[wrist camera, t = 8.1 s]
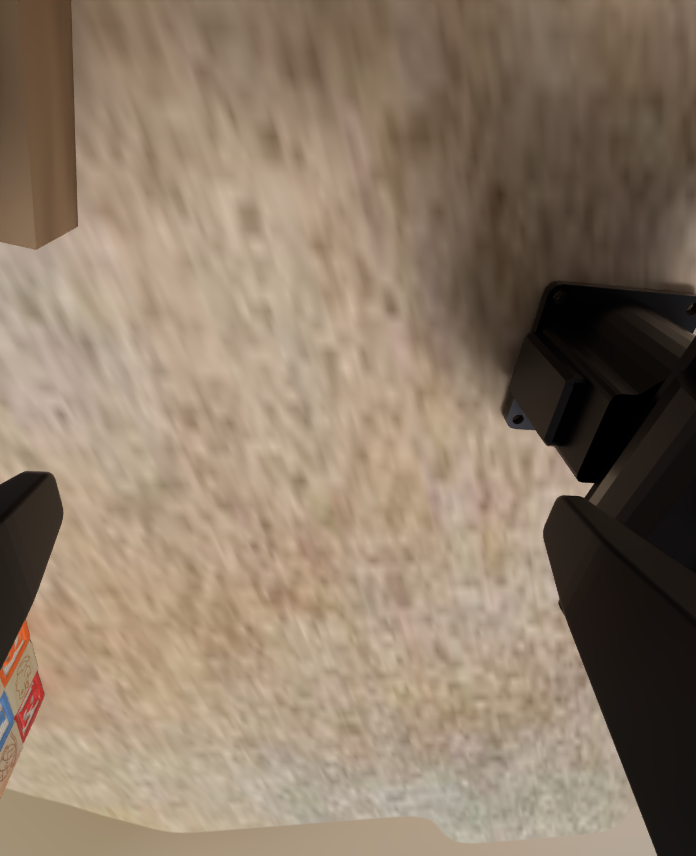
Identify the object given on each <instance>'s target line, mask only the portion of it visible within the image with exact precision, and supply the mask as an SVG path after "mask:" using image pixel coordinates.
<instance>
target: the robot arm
mask: <svg viewBox="0 0 696 856" xmlns="http://www.w3.org/2000/svg"><path fill="white" fill-rule="evenodd" d="M558 291H562V295H561V297H560V298H559V299H557V300H553V297H554V295H555V293H557V292H558ZM692 303H693V306H692V308H691V309H690V310H688V311H686V310H687V308H688V306H689V305H691V304H692ZM695 328H696V294H693V293H684V292H673V291H663V290H652V289H641V288H630V287H619V286H609V285H598V284H587V283H576V282H565V281H555V282H553V283H551V284H549V285H548V286H547V287H546V289H545V291H544V292H543V295H542V299H541V302H540V305H539V308H538V311H537V314H536V317H535V320H534V323H533V327H532V330H531V332H530V333H529V334H528V335H526V336H525V338H524V341H523V344H522V347H521V351H520V354H519V357H518V360H517V363H516V366H515V370H514V373H513V376H512V379H511V382H510V385H509V391H510V392H511V395H510V398H509V401H508V404H507V408H506V411H505V414H504V419H505V421H506V423H507V424H508V426H509V427H511V428H513V429H525V430H536V431H537V433H538V434H539V436H540V437H541V439H542V440H543V442H544V443H545V444H546V445H547V446H554V447H555V448H556V450H557V451H558V452H559V454H560V455H561V457H562V458H563V460H564V461H565V463H566V464H567V465H568V467H569V468H570V470H571V471H572V473H573V474H574V476H575V477H576V478H577V480H578V481H579V482H583V483H594V485H593V486H592V488H591V489H590V491H589V492H588V494H587V495H586V496H585V498H583V497H580V496H566V495H563V496H559V497H558V498H557V499H556V501H555V503H554V505H553V507H552V510H551V512H550V514H549V517H548V519H547V521H546V523H545V526H544V530H543V538H544V543H545V546H546V550H547V554H548V557H549V561H550V565H551V569H552V572H553V576H554V580H555V584H556V587H557V591H558V595H559V598H560V599H559V602H558V604H559V607H560V609H561V611H562V613H563V614H564V616H565V618H566V620H567V623H568V626H569V628H570V631H571V634H572V636H573V639H574V641H575V644H576V646H577V649H578V652H579V654H580V657H581V659H582V662H583V665H584V667H585V670H586V672H587V675H588V677H589V680H590V683H591V685H592V688H593V690H594V693H595V696H596V698H597V701H598V703H599V706H600V709H601V711H602V714H603V716H604V719H605V721H606V724H607V727H608V729H609V732H610V734H611V737H612V740H613V742H614V745H615V747H616V750H617V752H618V755H619V758H620V760H621V763H622V765H623V768H624V771H625V773H626V776H627V778H628V781H629V783H630V786H631V789H632V791H633V794H634V796H635V799H636V802H637V804H638V807H639V809H640V812H641V814H642V817H643V819H644V822H645V825H646V827H647V830H648V833H649V835H650V837H651V840H652V843H653V845H654V848H655V851H656V853H657V856H696V336H695V335H694V334H693V332H694V330H695ZM519 414H520V417H519V418H517V419H513V418H514V416H516V415H519ZM62 520H63V506H62V502H61V498H60V495H59V491H58V487H57V483H56V480H55V477H54V476H53V474H51V473H49V472H41V471H25V472H22V473H20V474H18V475H16V476H15V477H13V478H11V479H9V480H7V481H6V482H4V483H2V484H0V670H1V668H2V666H3V664H4V662H5V660H6V658H7V656H8V654H9V652H10V650H11V648H12V646H13V644H14V642H15V640H16V638H17V636H18V634H19V632H20V629H21V627H22V625H23V623H24V621H25V619H26V617H27V615H28V613H29V611H30V608H31V606H32V604H33V602H34V599H35V597H36V594H37V592H38V589H39V586H40V583H41V580H42V578H43V575H44V572H45V569H46V566H47V563H48V561H49V558H50V555H51V552H52V549H53V546H54V543H55V541H56V538H57V535H58V532H59V529H60V526H61V524H62Z"/></svg>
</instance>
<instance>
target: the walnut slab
mask: <svg viewBox="0 0 696 856" xmlns="http://www.w3.org/2000/svg"><path fill="white" fill-rule="evenodd" d="M76 227H78V212H77V180H76V148H75V116H74V84H73V52H72V20H71V0H0V242H4V243H8V244H13V245H17V246H22V247H26V248H31V249H35V250H37V249H38V248H40V247H42V246H44V245H46V244H47V243H49V242H51V241H53V240H55V239H56V238H58V237H60V236H62V235H64V234H65V233H67V232H69V231H71V230H73V229H74V228H76Z"/></svg>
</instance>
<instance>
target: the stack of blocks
mask: <svg viewBox="0 0 696 856" xmlns="http://www.w3.org/2000/svg"><path fill="white" fill-rule="evenodd" d="M29 639H30V636H29V631H28V627H27V623H26V619H25V621H24V623H23V625H22V627H21V629H20V632H19V634H18V636H17V638H16V640H15V642H14V644H13V646H12V648H11V650H10V652H9V654H8V656H7V658H6V660H5V662H4V664H3V666H2V668H1V670H0V798H1V796H2V793H3V791H4V789H5V787H6V785H7V783H8V780H9V778H10V776H11V773H12V771H13V769H14V767H15V764H16V762H17V760H18V758H19V755H20V753H21V751H22V748H23V743H24V741H25V739H26V737H27V735H28V733H29V730H30V728H31V726H32V724H33V722H34V720H35V718H36V715H37V713H38V710H39V708H40V706H41V703H42V701H43V699H44V692H43V689H42V686H41V682H40V679H39V675H38V671H37V669H38V666H37V662H36V658H35V654H34V650H33V647H32V643H31V641H30V640H29Z"/></svg>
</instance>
